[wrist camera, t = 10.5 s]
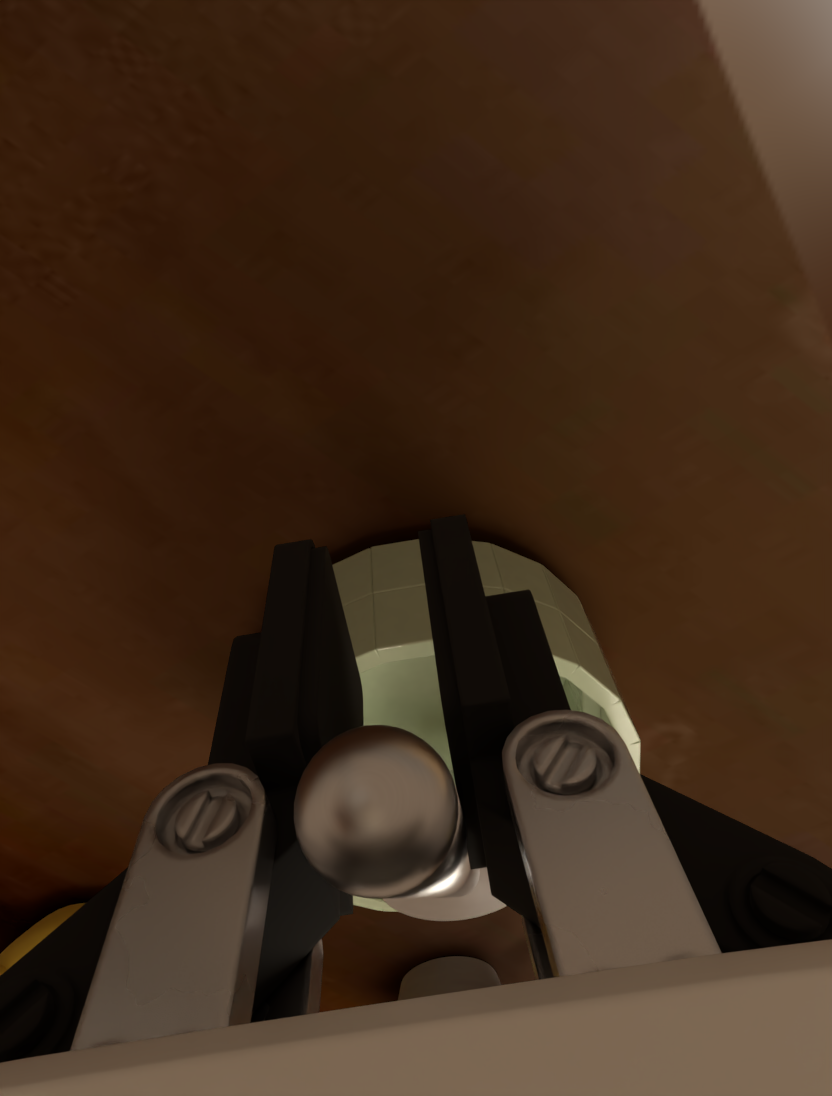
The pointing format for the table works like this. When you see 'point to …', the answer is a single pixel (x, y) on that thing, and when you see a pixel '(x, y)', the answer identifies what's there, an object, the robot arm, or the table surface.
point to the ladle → (390, 825)
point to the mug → (447, 977)
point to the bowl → (408, 653)
